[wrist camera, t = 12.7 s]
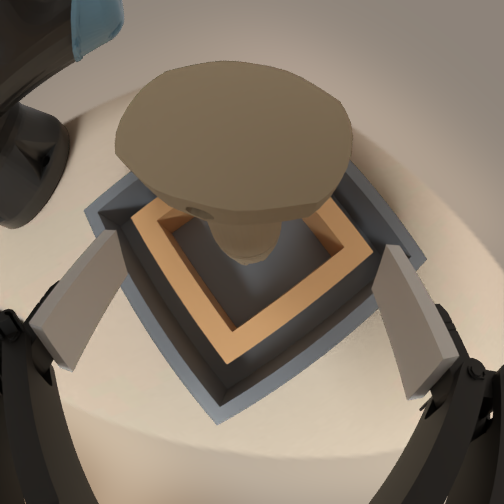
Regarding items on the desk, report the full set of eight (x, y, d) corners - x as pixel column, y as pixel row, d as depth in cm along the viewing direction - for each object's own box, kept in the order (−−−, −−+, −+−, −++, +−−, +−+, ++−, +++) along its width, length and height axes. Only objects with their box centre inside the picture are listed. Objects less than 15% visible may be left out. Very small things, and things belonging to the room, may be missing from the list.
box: (113, 227, 23) (83, 210, 18) (270, 120, 24) (272, 85, 20) (226, 401, 20) (217, 425, 15) (396, 269, 21) (427, 259, 16)
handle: (220, 205, 22) (164, 56, 7) (298, 228, 21) (360, 90, 7) (200, 263, 21) (89, 176, 6) (281, 288, 20) (332, 242, 6)
